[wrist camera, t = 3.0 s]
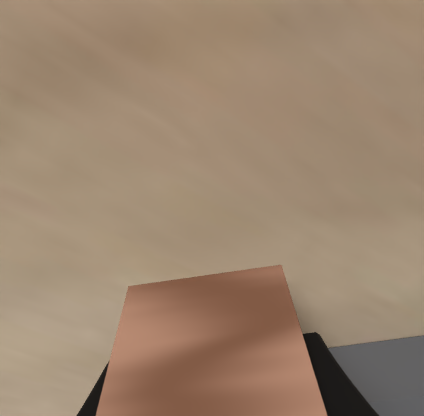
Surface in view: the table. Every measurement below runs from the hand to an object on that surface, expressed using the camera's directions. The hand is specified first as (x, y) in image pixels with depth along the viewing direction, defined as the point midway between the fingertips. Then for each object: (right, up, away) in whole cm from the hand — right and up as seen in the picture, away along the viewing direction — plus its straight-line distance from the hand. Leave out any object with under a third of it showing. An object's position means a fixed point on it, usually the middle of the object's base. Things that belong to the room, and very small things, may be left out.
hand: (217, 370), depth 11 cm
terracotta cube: (0, +1, +1) cm, 2 cm away
